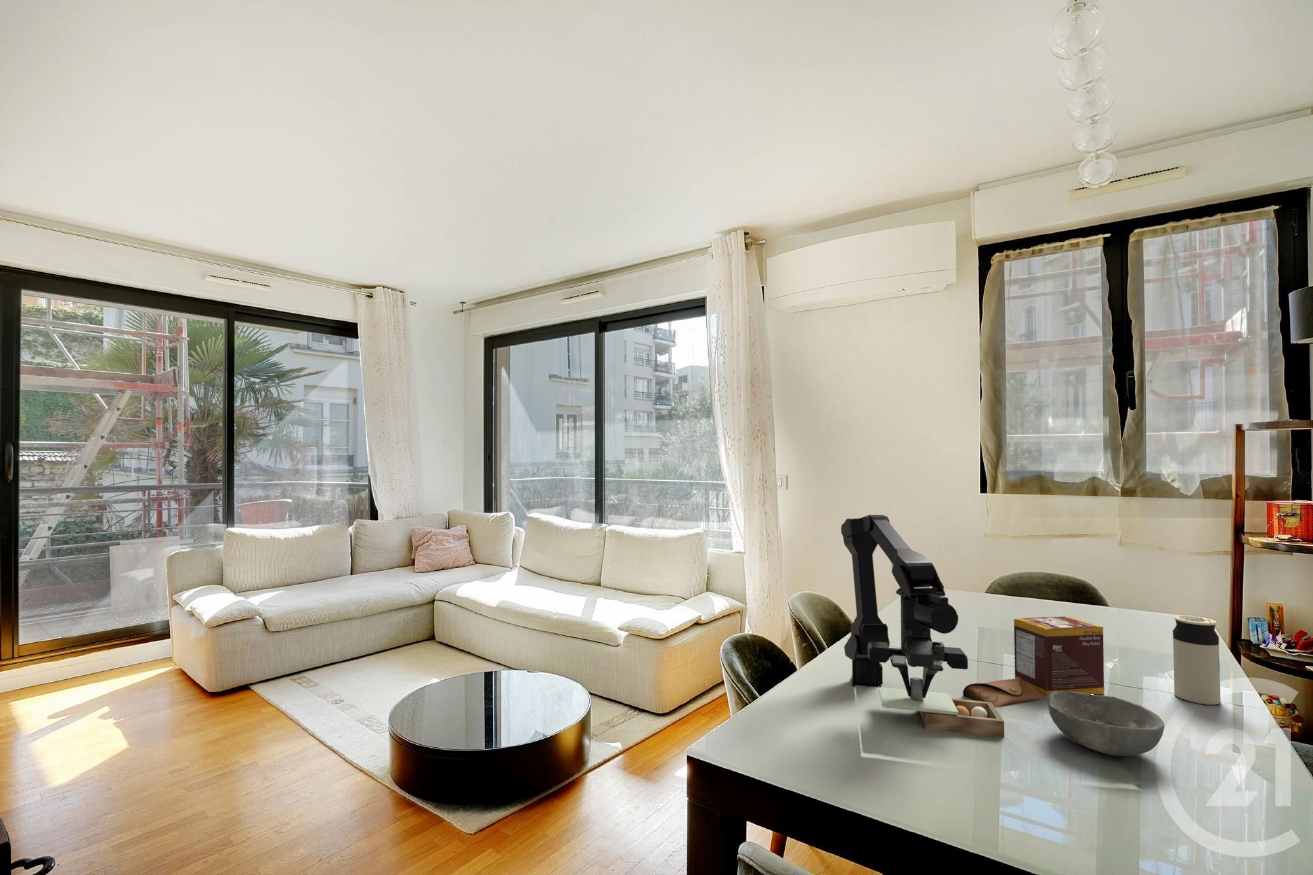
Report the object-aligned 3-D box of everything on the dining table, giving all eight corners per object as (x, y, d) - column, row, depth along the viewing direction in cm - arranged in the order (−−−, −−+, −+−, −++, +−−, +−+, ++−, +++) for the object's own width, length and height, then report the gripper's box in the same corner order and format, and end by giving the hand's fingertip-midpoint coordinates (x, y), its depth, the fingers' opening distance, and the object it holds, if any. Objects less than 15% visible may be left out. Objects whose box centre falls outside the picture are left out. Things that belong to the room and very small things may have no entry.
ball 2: (973, 724, 127) (972, 708, 127) (969, 718, 130) (969, 703, 130) (989, 725, 126) (989, 710, 126) (985, 719, 129) (985, 705, 129)
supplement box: (1105, 694, 145) (1104, 626, 146) (1046, 698, 143) (1045, 628, 144) (1069, 679, 156) (1068, 615, 156) (1013, 682, 153) (1012, 617, 154)
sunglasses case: (994, 712, 134) (980, 679, 138) (971, 718, 140) (958, 687, 143) (1054, 701, 141) (1039, 670, 144) (1029, 707, 146) (1016, 678, 150)
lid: (882, 707, 127) (882, 684, 127) (878, 689, 137) (878, 668, 137) (958, 715, 123) (958, 691, 123) (949, 696, 133) (948, 674, 133)
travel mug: (1173, 699, 143) (1171, 619, 143) (1175, 690, 148) (1173, 613, 149) (1220, 708, 137) (1217, 625, 138) (1221, 698, 143) (1218, 618, 144)
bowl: (1172, 783, 105) (1171, 734, 105) (1048, 756, 114) (1047, 712, 115) (1157, 743, 120) (1156, 700, 121) (1048, 722, 130) (1047, 682, 130)
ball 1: (954, 723, 127) (954, 708, 128) (951, 717, 130) (951, 702, 130) (970, 724, 127) (970, 709, 127) (967, 718, 129) (967, 704, 130)
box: (925, 731, 125) (925, 713, 125) (919, 712, 134) (918, 695, 134) (1004, 740, 121) (1004, 721, 121) (991, 719, 131) (991, 702, 131)
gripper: (870, 627, 125) (871, 706, 125) (973, 634, 120) (974, 717, 120) (867, 614, 136) (867, 687, 135) (961, 620, 131) (962, 696, 130)
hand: (916, 696), depth 130 cm, fingers closed on lid, 2 cm apart
